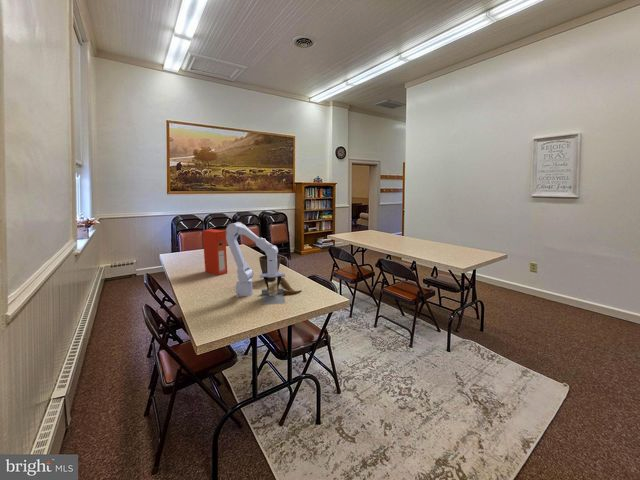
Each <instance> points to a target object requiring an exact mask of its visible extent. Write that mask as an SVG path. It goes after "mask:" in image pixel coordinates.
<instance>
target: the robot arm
mask: <svg viewBox="0 0 640 480" xmlns="http://www.w3.org/2000/svg"><path fill="white" fill-rule="evenodd" d="M225 232H226V235H225V238H226V243H227V245H228V246H229V249H230V253H231V255H232V256H233V260H234V262H235V264H236V267H237V268H236V269H237V270H236V274H237V280H238V281H236V282H235V286H236V287H235V294H236V299H238V298H239V297H249V296H252V295H254V294H253V292H254V291H253V279H252V278H253V277H254V274H255V273H254V271H253V269H251V267H250V265H249V264H247V262H246V259H245V257H244V254H243V253H242V252H243V251H242V250H241V247H240V244H239V242H238V237H239V235H240V236H241V235H244V236H246V237H247V238H249V240H251V241H252V242H255V246H256V247H258V248H259V249H260V250H261V251H262V252H264V253H265V255H267V272H268V273H266V274H263V273H260V274H259V278H260V279H262V278H263V281H264V283H265V285H266V289H267V290H269V288H268V282H269V281H268V278H269V277H276V282H277V289H278V288H280V287H279V286H280V283H281V279H282V278H286V273H285V272H278V273H277V256H278V253H279V249H278V247H277V245H274V244H272V243H270V242H269V241H267V240H266V238H263V237H259V236H258V235H256V234H255V233H254V232H253V231H252V230H251V229H250V228H249V227H248V226H246V224H244V223H242V222H241V221H237V222H234V223H229V224H228V225H227V227H226V228H225Z"/></svg>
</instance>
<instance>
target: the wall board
mask: <svg viewBox="0 0 640 480" xmlns="http://www.w3.org/2000/svg"><path fill="white" fill-rule="evenodd" d="M284 290H285V287H279V288H278V289H277V293H274V294H269V291H268V290H267V288H262V289H261V305H262V306H264V305H282V304H283V305H284V304H286V298H285V295H283V291H284Z"/></svg>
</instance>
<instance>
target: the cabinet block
mask: <svg viewBox="0 0 640 480" xmlns="http://www.w3.org/2000/svg"><path fill="white" fill-rule="evenodd" d="M268 288H269V290H268V291H269V294H274V293H277V281H268Z"/></svg>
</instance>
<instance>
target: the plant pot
mask: <svg viewBox="0 0 640 480" xmlns="http://www.w3.org/2000/svg"><path fill="white" fill-rule="evenodd" d="M258 259H259V260H258V261H259V266H260V269H261V274H266V273H268V272H267V255H266V254H265V255H261V256H259V257H258ZM281 259H282V257H281V256H280V255H277V273H279V269H280V266H281ZM275 280H277V277H269V278H268V282H275Z"/></svg>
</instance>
